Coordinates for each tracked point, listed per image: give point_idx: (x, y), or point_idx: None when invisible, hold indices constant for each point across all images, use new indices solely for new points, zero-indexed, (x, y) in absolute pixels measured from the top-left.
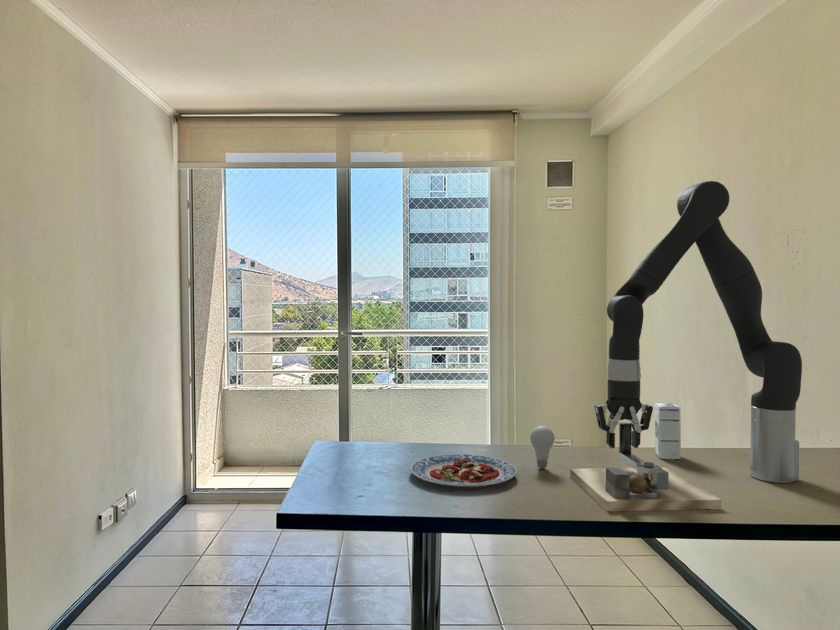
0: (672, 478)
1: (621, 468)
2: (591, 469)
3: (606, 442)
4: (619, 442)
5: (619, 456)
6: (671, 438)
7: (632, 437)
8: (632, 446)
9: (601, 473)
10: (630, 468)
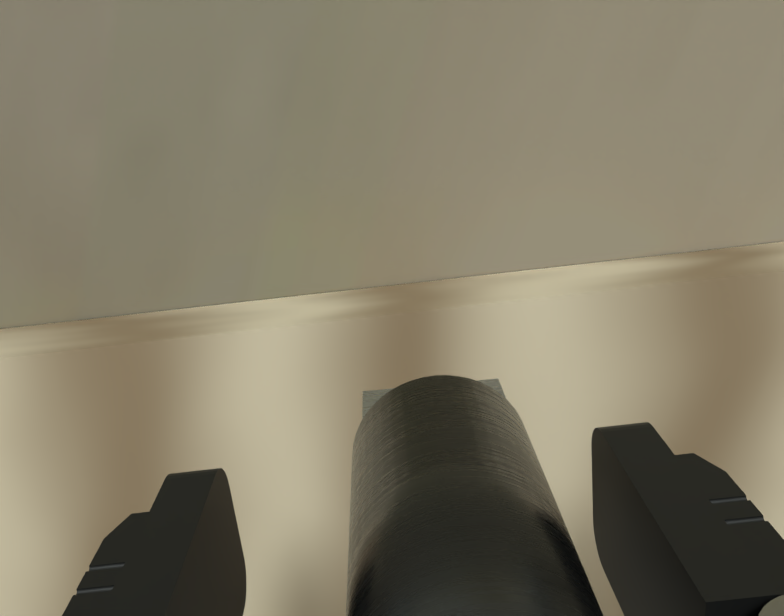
0: None
1: (391, 329)
2: (31, 394)
3: (105, 546)
4: (348, 555)
5: (363, 400)
6: None
7: (649, 543)
8: (593, 447)
9: (123, 519)
10: (497, 323)
